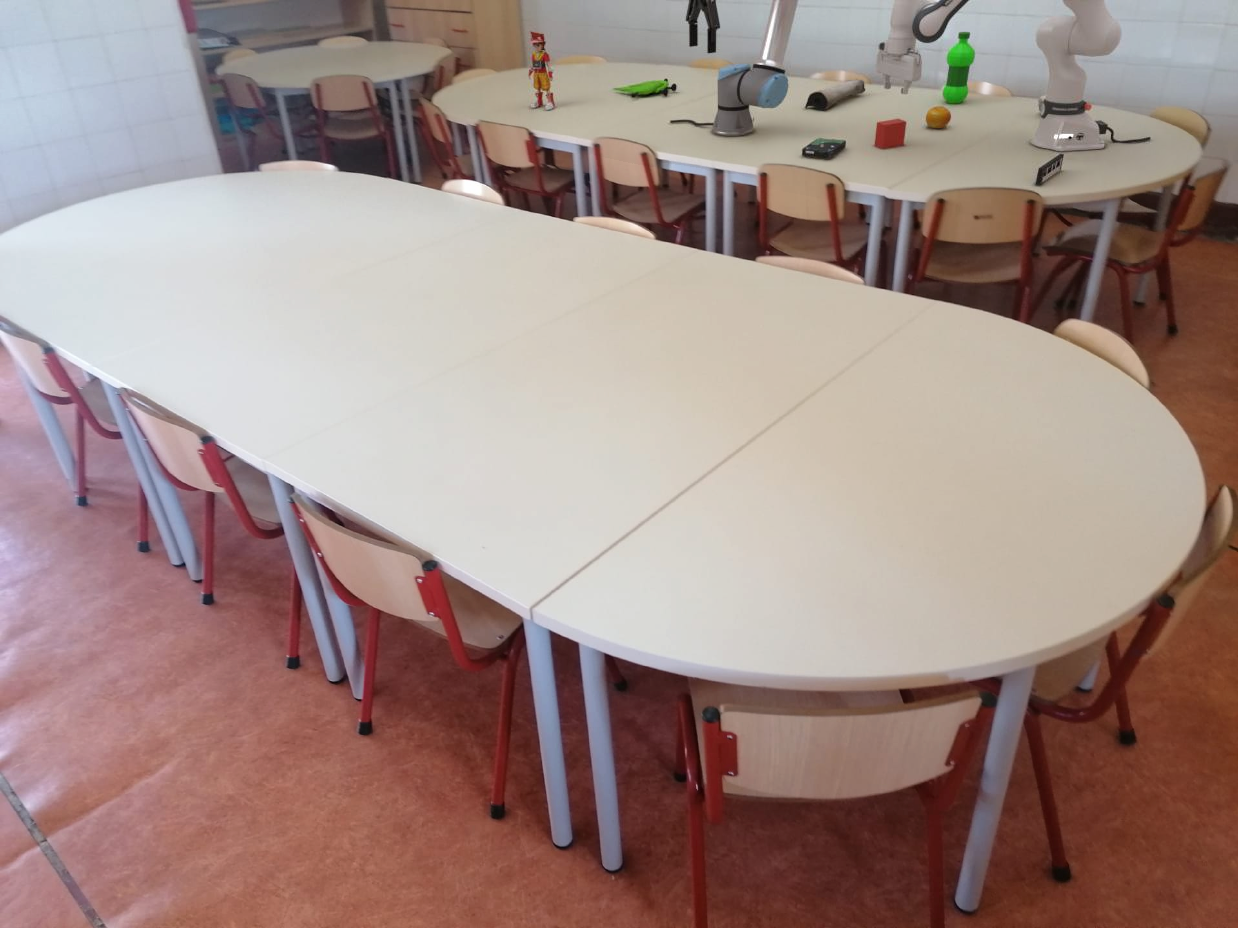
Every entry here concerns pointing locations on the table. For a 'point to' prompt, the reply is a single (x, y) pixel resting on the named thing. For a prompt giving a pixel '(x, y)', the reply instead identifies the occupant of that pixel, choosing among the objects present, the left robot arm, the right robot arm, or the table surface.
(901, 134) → the block
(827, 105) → the rolled mat
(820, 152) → the disk drive
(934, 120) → the fruit
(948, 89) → the plastic bottle
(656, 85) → the toy
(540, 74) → the toy
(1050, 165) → the midi keyboard
